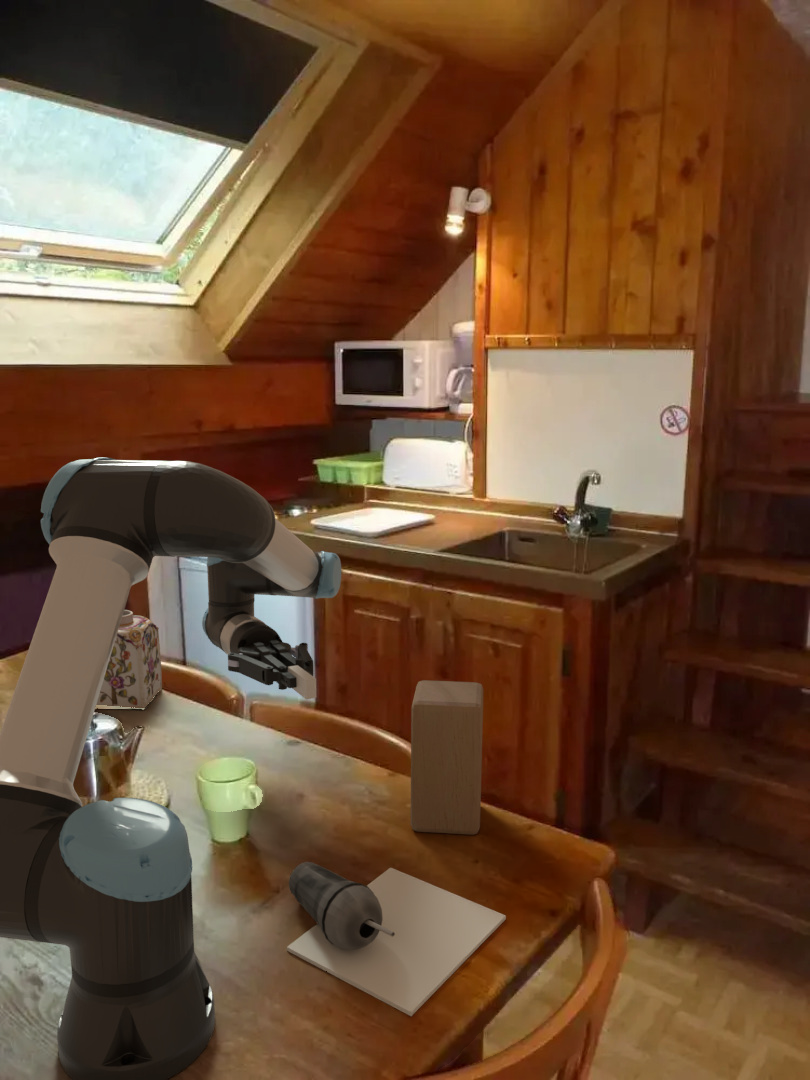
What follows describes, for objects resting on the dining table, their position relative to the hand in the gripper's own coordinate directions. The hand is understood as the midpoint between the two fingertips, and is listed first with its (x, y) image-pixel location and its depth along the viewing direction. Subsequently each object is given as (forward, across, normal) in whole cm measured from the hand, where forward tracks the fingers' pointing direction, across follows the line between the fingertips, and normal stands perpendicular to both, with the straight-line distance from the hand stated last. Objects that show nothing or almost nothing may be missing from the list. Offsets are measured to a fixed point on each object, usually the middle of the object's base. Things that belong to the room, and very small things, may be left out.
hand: (311, 689), depth 118 cm
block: (+2, -21, -23) cm, 31 cm away
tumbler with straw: (+10, +6, -21) cm, 24 cm away
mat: (+23, -1, -24) cm, 33 cm away
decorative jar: (-68, +11, -22) cm, 72 cm away
